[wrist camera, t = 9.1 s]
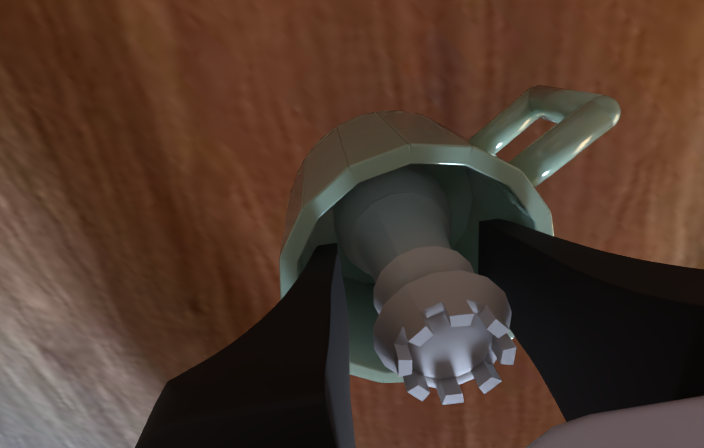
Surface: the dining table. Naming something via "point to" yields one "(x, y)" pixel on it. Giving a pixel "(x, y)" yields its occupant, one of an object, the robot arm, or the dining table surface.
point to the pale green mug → (453, 177)
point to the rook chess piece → (423, 286)
